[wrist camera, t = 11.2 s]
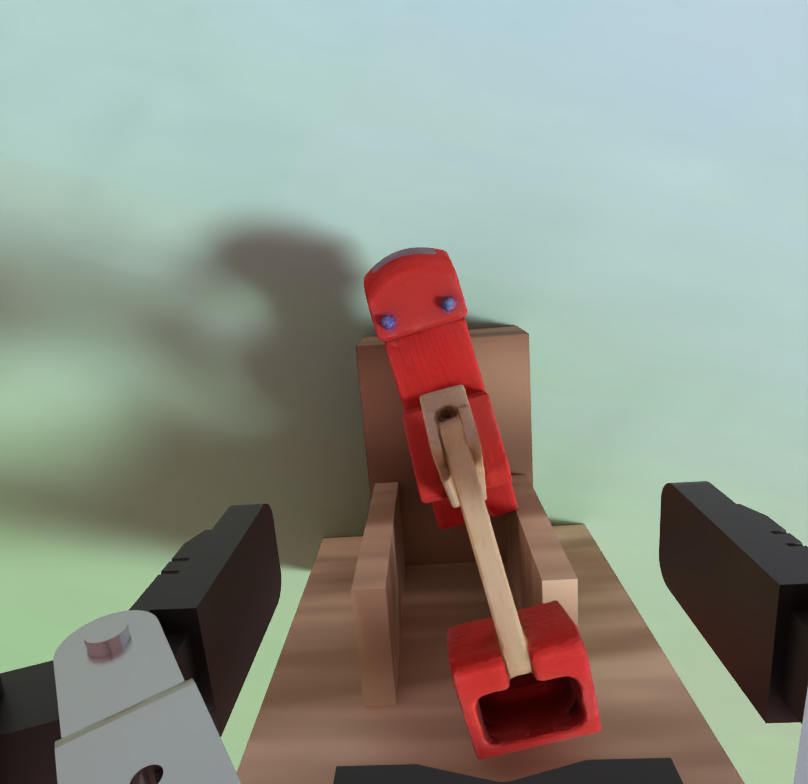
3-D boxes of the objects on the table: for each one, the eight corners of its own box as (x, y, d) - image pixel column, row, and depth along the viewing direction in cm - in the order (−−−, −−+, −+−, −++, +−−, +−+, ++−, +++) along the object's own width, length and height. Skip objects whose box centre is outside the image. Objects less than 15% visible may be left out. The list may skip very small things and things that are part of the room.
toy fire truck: (444, 247, 21) (461, 179, 12) (534, 574, 23) (615, 755, 13) (362, 272, 21) (312, 226, 12) (456, 594, 23) (478, 786, 13)
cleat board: (299, 341, 26) (-104, 588, 6) (583, 320, 25) (1161, 523, 5) (327, 573, 28) (110, 1265, 9) (584, 560, 27) (974, 1280, 8)
